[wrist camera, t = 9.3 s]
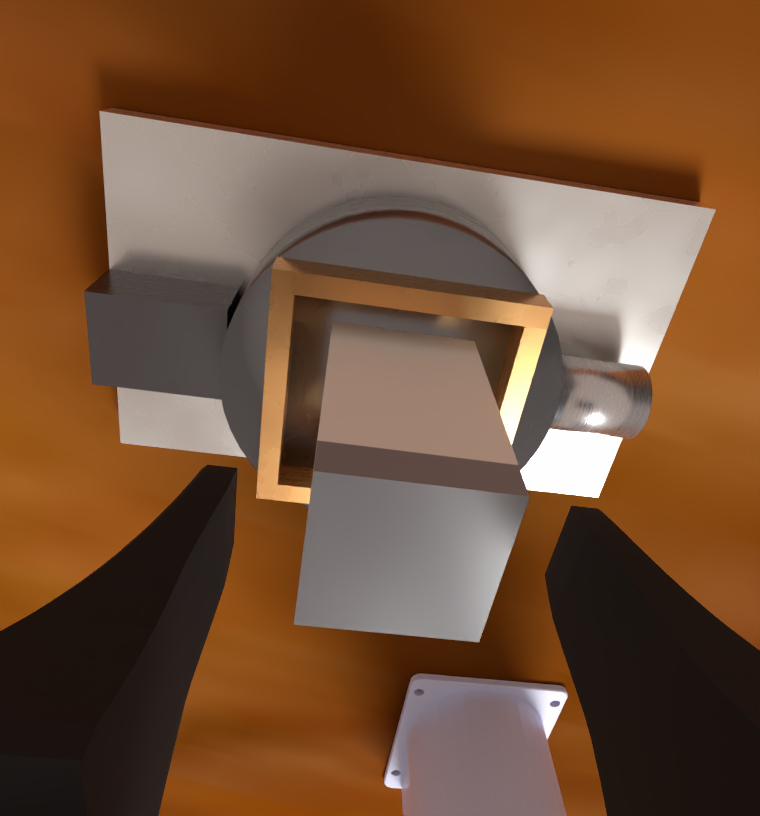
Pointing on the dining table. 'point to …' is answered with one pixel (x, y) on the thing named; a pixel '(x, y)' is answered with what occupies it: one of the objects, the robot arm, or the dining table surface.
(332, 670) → the dining table surface
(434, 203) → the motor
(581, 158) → the dining table surface
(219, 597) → the robot arm
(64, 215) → the dining table surface
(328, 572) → the block
